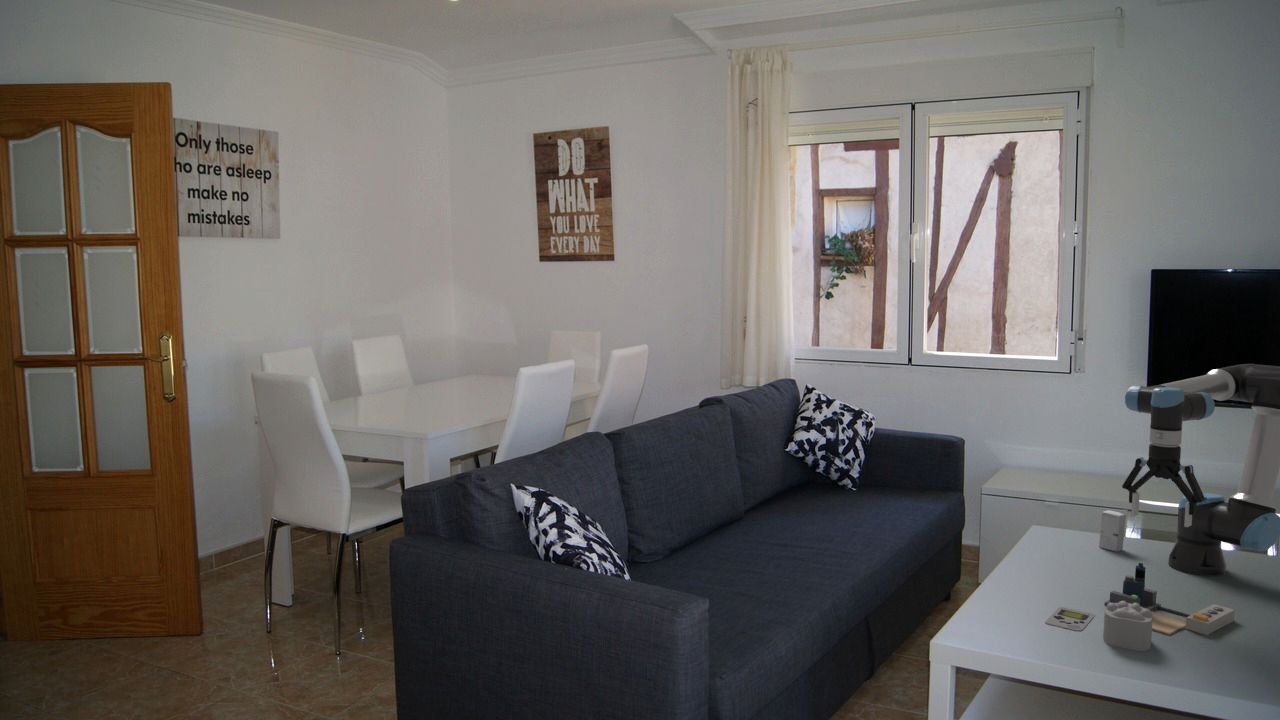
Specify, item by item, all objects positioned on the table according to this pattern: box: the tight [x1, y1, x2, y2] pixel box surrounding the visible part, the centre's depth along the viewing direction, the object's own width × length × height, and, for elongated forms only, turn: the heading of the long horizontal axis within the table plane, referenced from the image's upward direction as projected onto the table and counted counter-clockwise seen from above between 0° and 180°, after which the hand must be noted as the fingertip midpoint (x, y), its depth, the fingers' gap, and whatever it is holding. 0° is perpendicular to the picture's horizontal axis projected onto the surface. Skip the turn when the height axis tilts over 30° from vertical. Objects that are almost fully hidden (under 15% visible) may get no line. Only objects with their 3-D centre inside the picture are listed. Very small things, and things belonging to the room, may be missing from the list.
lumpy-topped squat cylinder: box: [1102, 601, 1153, 652], centre depth 222 cm, size 10×13×9 cm
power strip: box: [1185, 603, 1236, 636], centre depth 232 cm, size 16×5×4 cm, turn 126°
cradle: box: [1104, 587, 1191, 618], centre depth 240 cm, size 11×21×5 cm, turn 36°
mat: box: [1151, 610, 1186, 636], centre depth 234 cm, size 12×12×1 cm
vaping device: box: [1122, 562, 1146, 608], centre depth 244 cm, size 3×5×12 cm, turn 78°
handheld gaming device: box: [1044, 606, 1096, 632], centre depth 235 cm, size 9×1×15 cm
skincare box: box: [1098, 509, 1127, 552], centre depth 295 cm, size 6×4×12 cm
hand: (1160, 520), depth 247 cm, fingers open, 13 cm apart
